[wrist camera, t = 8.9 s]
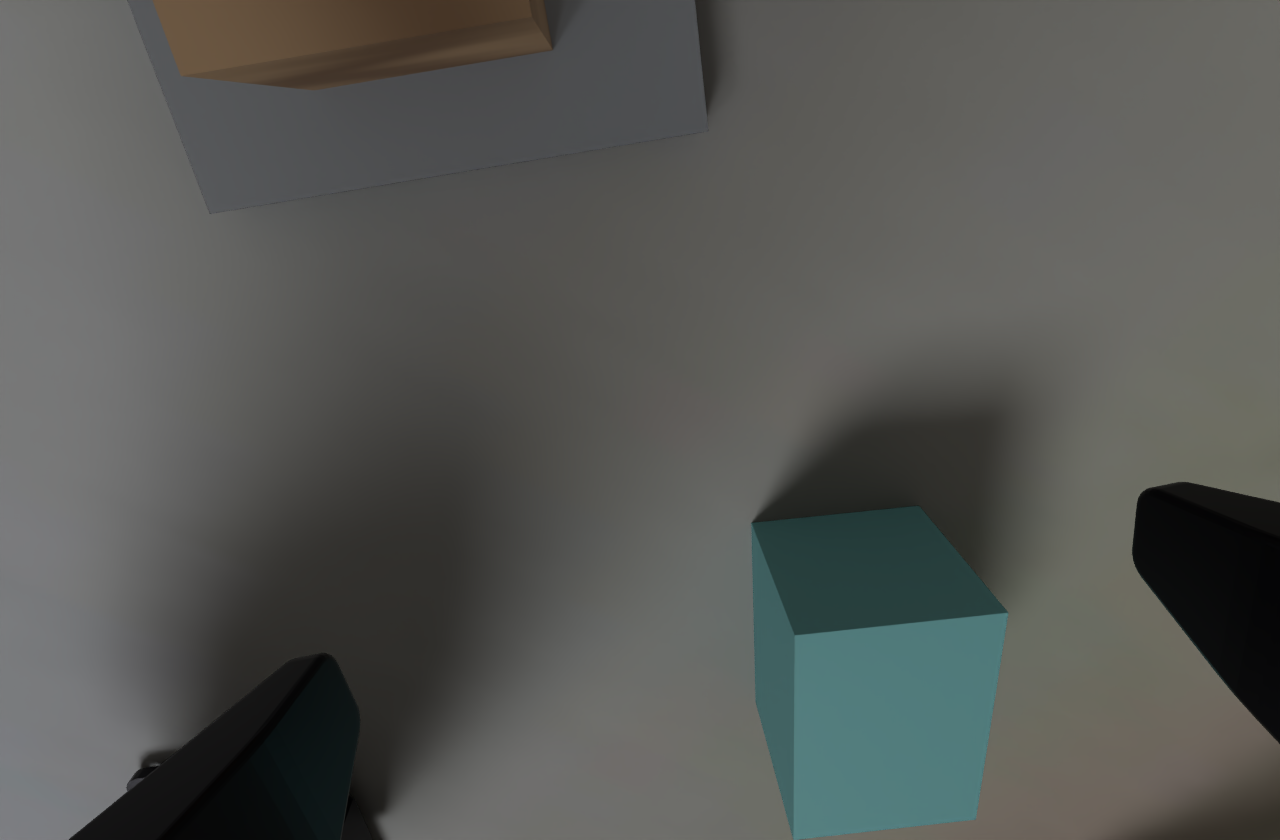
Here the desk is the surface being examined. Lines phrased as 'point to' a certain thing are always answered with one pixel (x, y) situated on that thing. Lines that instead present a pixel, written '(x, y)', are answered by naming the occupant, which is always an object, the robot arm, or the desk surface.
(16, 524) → the desk surface
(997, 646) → the teal brick
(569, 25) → the baseplate
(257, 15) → the walnut brick
